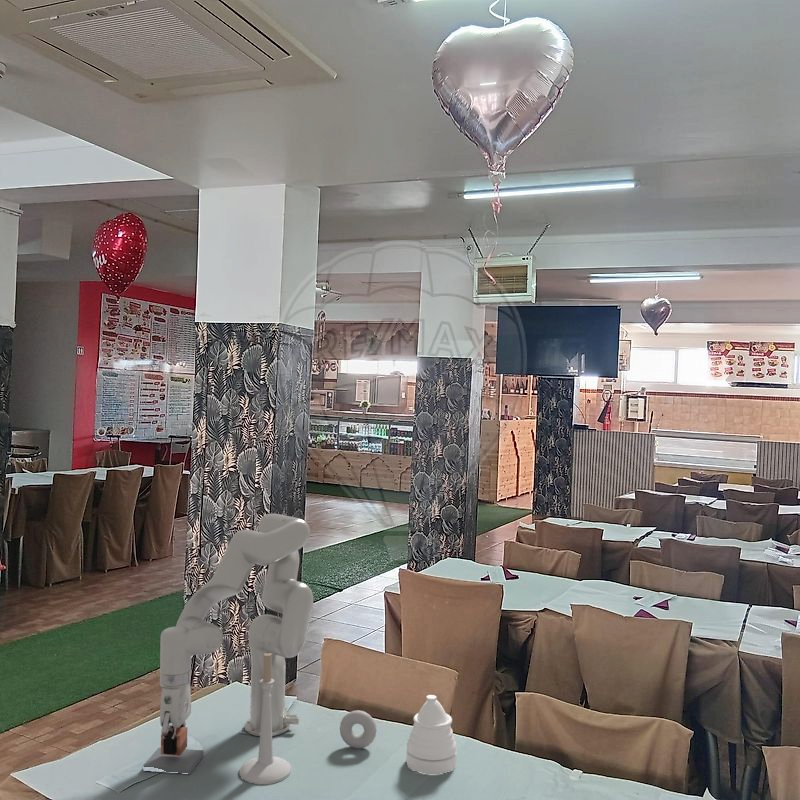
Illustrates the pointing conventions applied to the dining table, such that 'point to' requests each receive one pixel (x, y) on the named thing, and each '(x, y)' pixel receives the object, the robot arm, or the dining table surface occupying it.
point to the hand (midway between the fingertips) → (174, 747)
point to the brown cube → (181, 740)
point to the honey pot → (431, 740)
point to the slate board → (175, 761)
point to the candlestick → (265, 741)
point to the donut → (349, 735)
